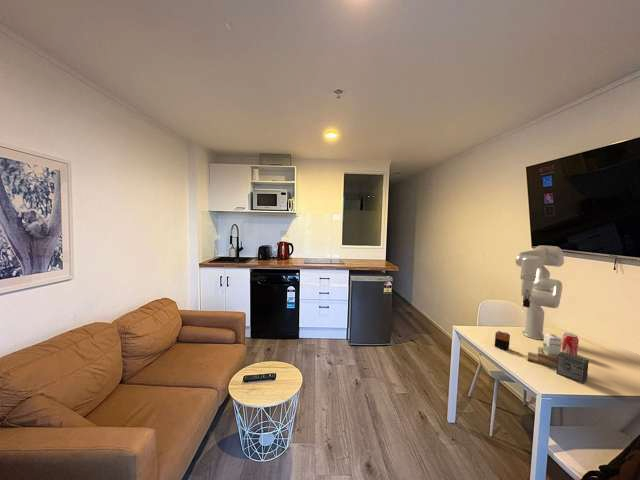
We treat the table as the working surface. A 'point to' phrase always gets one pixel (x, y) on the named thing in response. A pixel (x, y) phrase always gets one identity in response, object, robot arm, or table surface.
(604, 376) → the table surface
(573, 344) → the soda can
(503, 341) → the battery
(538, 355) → the socket
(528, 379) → the table surface
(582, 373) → the small box
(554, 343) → the syrup box
